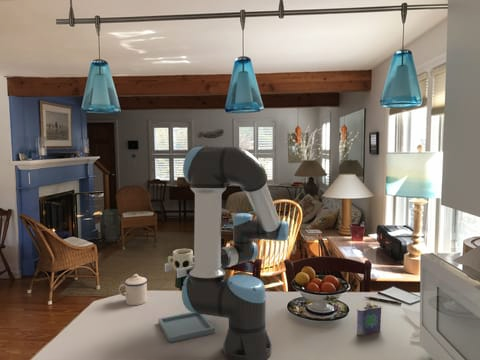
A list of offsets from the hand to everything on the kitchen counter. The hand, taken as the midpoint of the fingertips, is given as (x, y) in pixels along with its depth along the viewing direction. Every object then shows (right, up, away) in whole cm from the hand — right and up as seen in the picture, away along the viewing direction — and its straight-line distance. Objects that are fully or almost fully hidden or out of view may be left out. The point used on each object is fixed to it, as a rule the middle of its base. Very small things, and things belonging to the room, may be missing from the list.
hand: (171, 270), depth 135 cm
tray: (+4, -22, +5) cm, 23 cm away
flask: (+68, -21, 0) cm, 72 cm away
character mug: (+4, -7, +4) cm, 9 cm away
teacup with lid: (-21, -20, +29) cm, 41 cm away
